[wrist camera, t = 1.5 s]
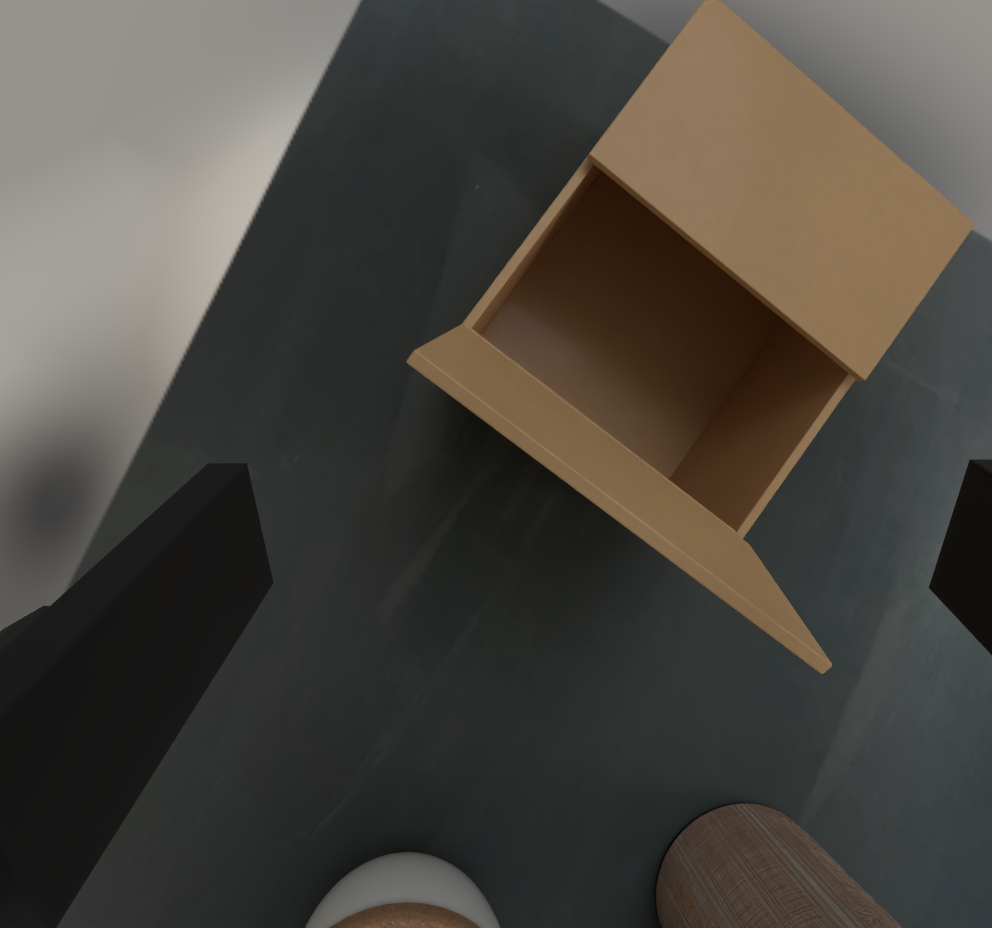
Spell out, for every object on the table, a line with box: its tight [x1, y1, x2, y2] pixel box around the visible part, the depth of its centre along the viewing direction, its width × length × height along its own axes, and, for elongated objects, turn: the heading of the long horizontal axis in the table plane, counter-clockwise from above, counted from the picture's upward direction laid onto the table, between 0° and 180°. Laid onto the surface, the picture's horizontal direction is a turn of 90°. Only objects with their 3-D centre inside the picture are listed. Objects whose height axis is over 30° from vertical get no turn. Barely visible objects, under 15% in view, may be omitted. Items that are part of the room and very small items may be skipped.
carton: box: [462, 0, 975, 539], centre depth 29 cm, size 16×14×11 cm
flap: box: [407, 324, 832, 674], centre depth 20 cm, size 8×14×1 cm
